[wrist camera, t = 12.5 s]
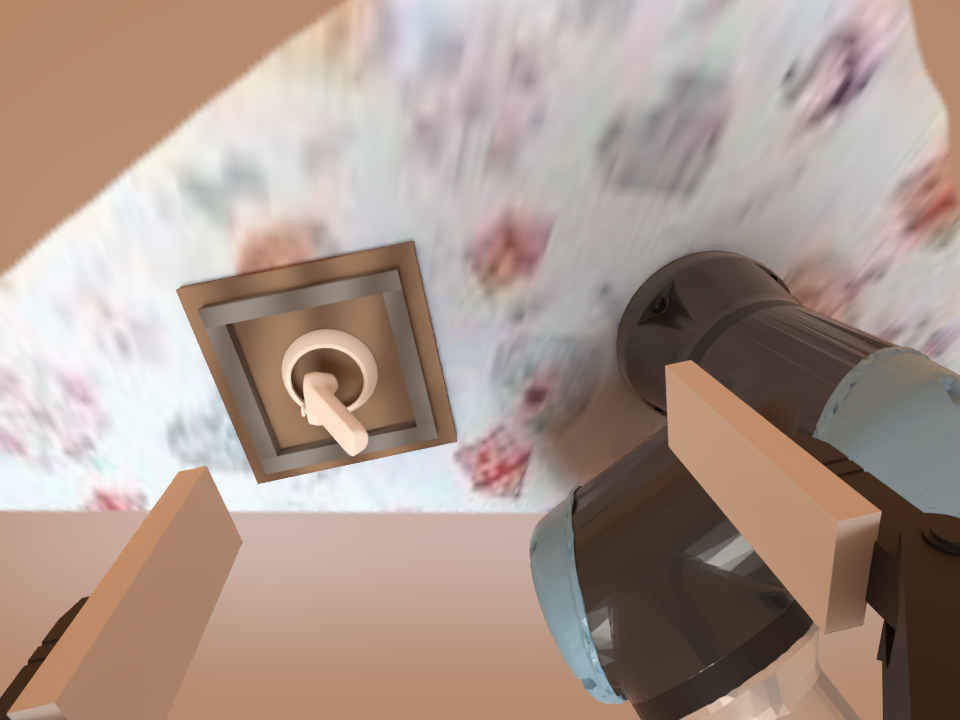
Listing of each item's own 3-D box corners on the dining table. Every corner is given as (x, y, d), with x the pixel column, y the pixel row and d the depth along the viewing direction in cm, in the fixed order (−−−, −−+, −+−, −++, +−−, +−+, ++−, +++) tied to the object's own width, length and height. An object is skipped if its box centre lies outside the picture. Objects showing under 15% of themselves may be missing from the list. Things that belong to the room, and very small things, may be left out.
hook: (434, 451, 41) (356, 498, 37) (355, 380, 48) (283, 413, 44) (430, 375, 37) (341, 419, 33) (344, 310, 44) (263, 339, 40)
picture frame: (412, 241, 41) (412, 246, 39) (456, 435, 48) (458, 448, 46) (181, 286, 40) (169, 294, 38) (261, 477, 47) (254, 492, 45)
